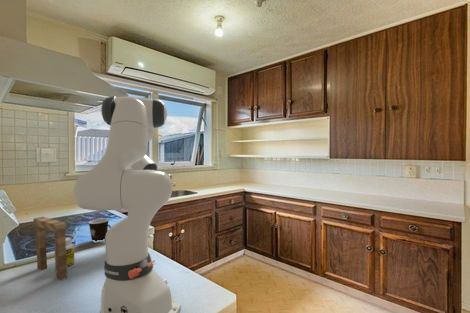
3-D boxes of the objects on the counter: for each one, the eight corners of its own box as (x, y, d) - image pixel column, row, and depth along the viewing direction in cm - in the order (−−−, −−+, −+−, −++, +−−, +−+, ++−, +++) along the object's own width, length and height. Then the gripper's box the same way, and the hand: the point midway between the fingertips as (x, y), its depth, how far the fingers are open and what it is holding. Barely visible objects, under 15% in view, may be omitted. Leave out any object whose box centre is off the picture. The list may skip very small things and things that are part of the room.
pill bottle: (65, 272, 94) (64, 242, 94) (51, 270, 95) (49, 241, 95) (78, 264, 100) (77, 236, 100) (65, 263, 101) (64, 236, 101)
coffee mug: (87, 241, 126) (86, 221, 126) (106, 236, 132) (105, 217, 132) (93, 247, 117) (92, 226, 117) (113, 242, 123) (112, 222, 123)
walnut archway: (68, 277, 90) (66, 222, 89) (59, 280, 87) (56, 225, 87) (44, 265, 99) (42, 216, 99) (35, 269, 97) (33, 218, 96)
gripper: (139, 192, 114) (110, 197, 102) (111, 189, 125) (83, 193, 113) (138, 178, 114) (109, 181, 102) (111, 176, 124) (82, 179, 113)
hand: (95, 188), depth 108 cm, fingers open, 5 cm apart
